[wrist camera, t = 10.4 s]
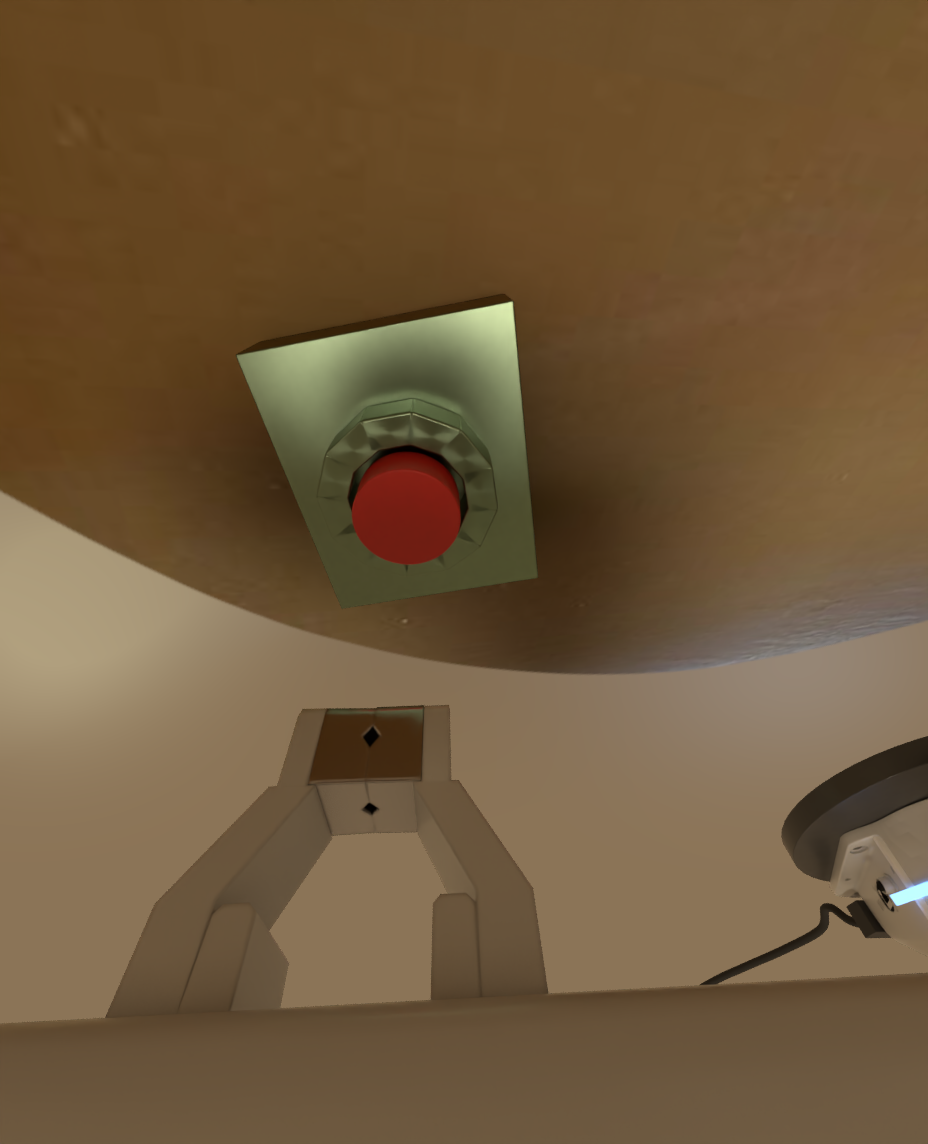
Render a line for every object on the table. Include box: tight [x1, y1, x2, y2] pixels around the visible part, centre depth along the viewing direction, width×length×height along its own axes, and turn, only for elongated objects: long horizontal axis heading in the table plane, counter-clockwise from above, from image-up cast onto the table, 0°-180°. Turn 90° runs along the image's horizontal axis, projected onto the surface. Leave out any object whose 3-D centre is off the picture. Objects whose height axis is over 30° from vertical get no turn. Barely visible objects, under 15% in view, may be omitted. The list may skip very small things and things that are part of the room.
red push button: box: [352, 452, 461, 565], centre depth 18 cm, size 4×4×2 cm
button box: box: [236, 294, 538, 609], centre depth 20 cm, size 12×10×4 cm
